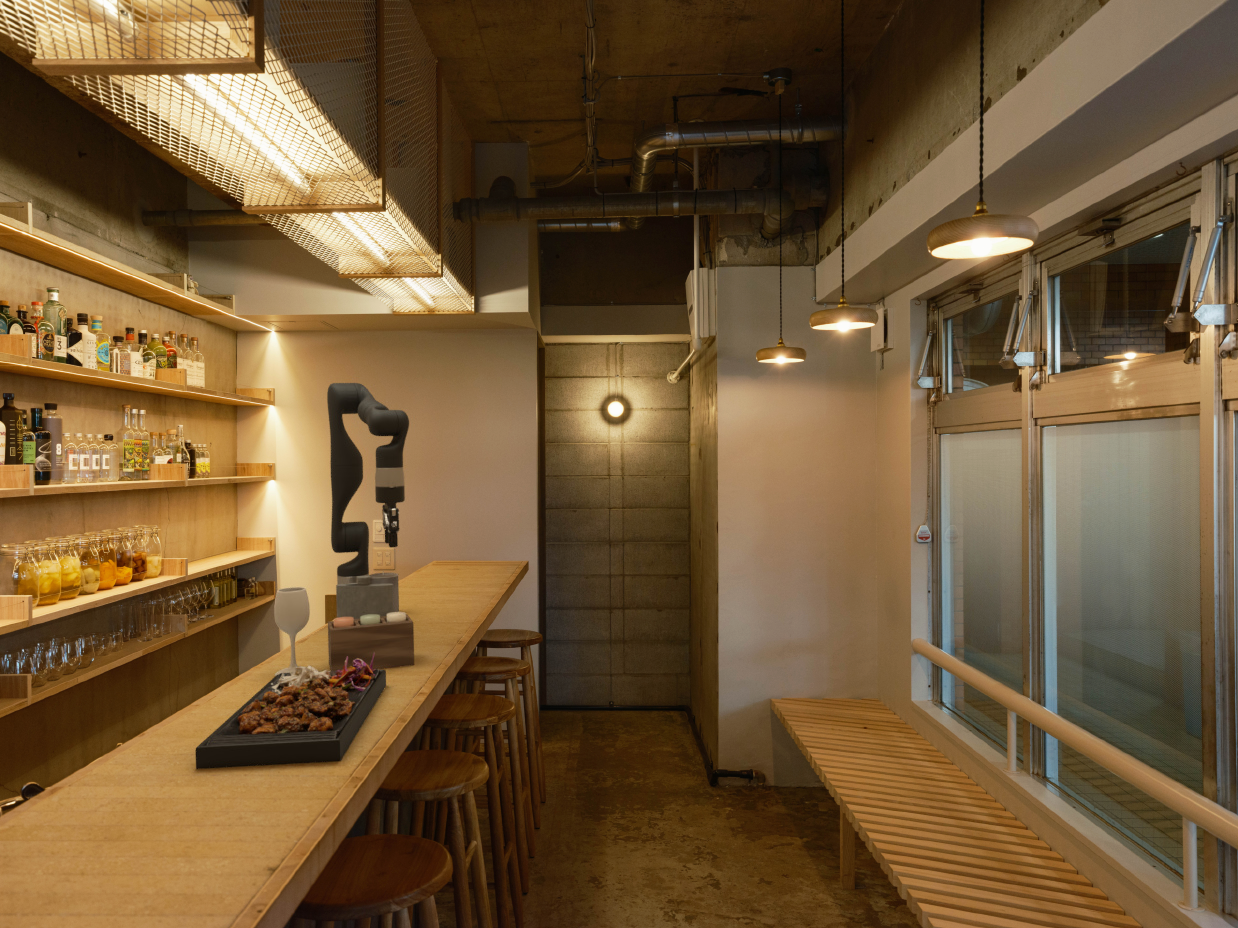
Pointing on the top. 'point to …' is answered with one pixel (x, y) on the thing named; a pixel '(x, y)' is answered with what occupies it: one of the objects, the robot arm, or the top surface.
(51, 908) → the top surface
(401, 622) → the three egg wooden crate
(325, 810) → the top surface
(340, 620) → the orange brown egg
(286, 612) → the white bowl
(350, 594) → the hip flask
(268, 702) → the food platter
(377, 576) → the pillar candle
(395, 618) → the pale beige egg
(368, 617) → the pale green egg
